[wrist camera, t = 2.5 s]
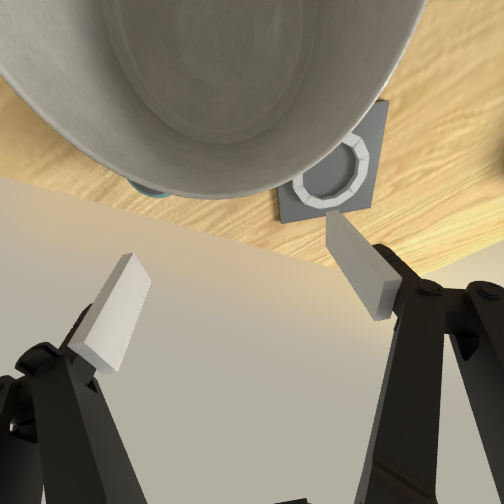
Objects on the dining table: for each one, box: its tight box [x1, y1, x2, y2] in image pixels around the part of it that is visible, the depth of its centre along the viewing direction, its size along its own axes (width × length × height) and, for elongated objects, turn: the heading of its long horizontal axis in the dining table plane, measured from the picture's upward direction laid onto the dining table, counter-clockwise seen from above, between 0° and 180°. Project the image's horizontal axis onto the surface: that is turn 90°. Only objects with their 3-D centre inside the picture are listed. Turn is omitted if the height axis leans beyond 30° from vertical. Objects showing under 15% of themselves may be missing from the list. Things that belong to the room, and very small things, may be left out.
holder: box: [277, 100, 390, 224], centre depth 31 cm, size 14×14×2 cm
